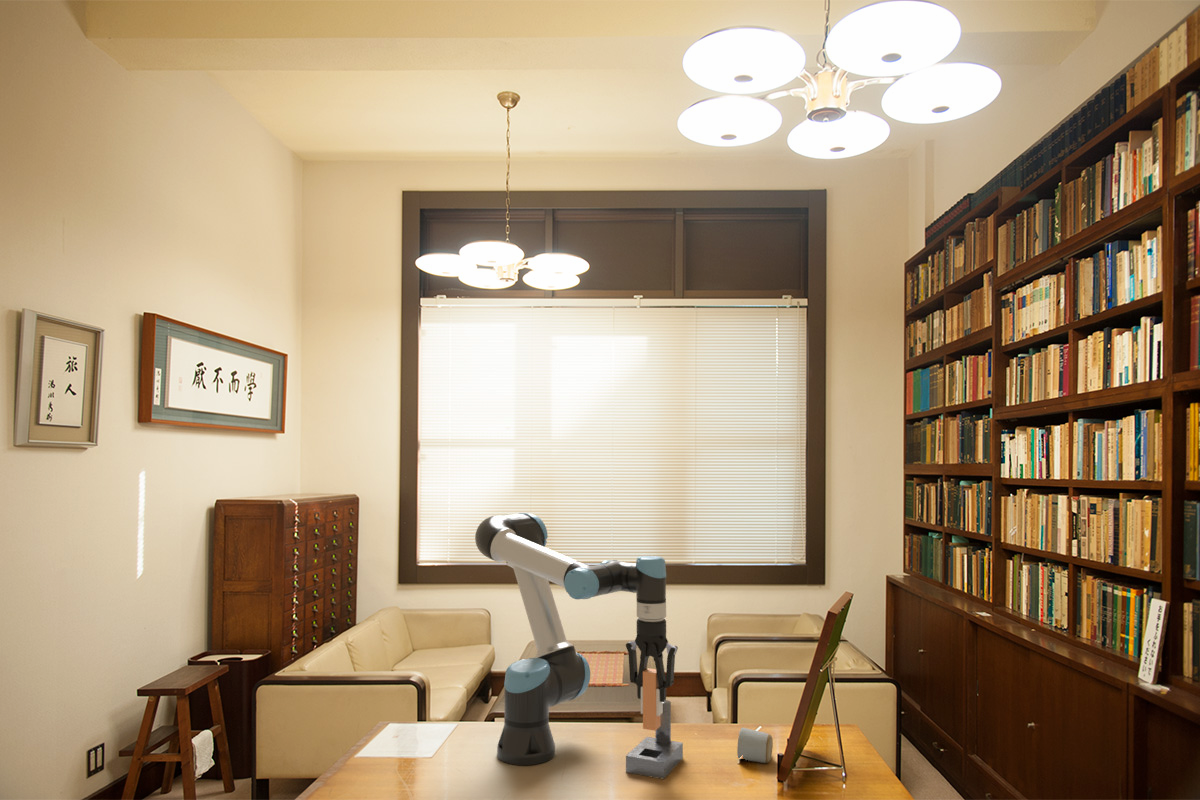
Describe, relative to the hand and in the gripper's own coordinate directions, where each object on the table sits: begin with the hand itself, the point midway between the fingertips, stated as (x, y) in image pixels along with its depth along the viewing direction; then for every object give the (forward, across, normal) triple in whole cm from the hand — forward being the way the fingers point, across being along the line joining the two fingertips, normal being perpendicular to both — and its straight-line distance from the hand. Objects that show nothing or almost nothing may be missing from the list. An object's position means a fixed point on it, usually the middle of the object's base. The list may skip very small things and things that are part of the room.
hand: (651, 712), depth 199 cm
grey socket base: (+14, 0, +4) cm, 14 cm away
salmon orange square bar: (+4, 0, 0) cm, 4 cm away
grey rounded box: (+14, +22, +19) cm, 32 cm away
